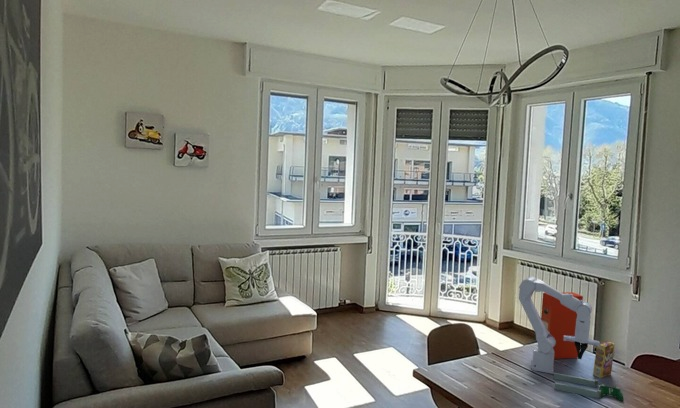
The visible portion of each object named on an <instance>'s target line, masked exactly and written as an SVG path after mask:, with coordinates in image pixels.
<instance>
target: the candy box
mask: <svg viewBox="0 0 680 408" xmlns="http://www.w3.org/2000/svg"><path fill="white" fill-rule="evenodd" d="M615 346H616V344H615V343H614V342H611V341H607V340H606V341H603V342H600V344H599V347H598V346H596V349H595V350H596V351H595V356H594V357H595V358H594V362H593V363H594V364H593V370H592V371H593V372H592V375H593V376H595V377H596V378H599V379H603V378H605V377H608V376H610V375H612V368H613V363H614V355H615V354H614V353H615Z"/></svg>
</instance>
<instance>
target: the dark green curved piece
mask: <svg viewBox="0 0 680 408" xmlns="http://www.w3.org/2000/svg"><path fill="white" fill-rule="evenodd" d="M598 390H601V397H600V398H603V397H604V396H610V397H614V398H615V397H616V398H617V399H618V401H620V402H624V395H623V393H622V391H621V388H620V387H619V386H616V387H612V386H608V385H607V386H606V385H605V384H604V383H602V384H600V385H599V387H598Z"/></svg>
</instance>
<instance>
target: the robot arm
mask: <svg viewBox="0 0 680 408" xmlns="http://www.w3.org/2000/svg"><path fill="white" fill-rule="evenodd" d="M518 288H519V290H518V291H519V292H518V300H519V302H520V304H521V306H522V308H523V310H524V312H525V314H526V316H527V318H528V320H529V322H530V325H531V327H532V329H533V331H534V333H535V340H536V342H537V348H533V350H532V351H533V352H532V353H533V354H532V360H531V370H533V371H537V372H540V373H541V372H543V373H545V374H546V373H547V374H551V375H554V372H555V371H554V369H555V368H554V361H555V359H554V349H553V347H554V346H555V345H556V340H555V338H554V337H553V336H551V334H550V333H549V331H548V330H546V328H545V326H544V324H543V322H542V320H541V315H540V313H539V312H538V310H537V308H536V305H535V304H534V302H533V300H532V296H533V294H534V292H535V293H538V292H540V293H547V294H549V295H551V296H553V297H555V298H557V299H559V300H560V302H561V304H562V305H564V306H566V307H567V308H569V309H571V310H573V311H575V312H576V313H577V318H576V327H575V336H565V335H564V341H571V342H574V343H575V347H576V349H577V353H578V358H577V359H578V360H582V358H583V356H584V353H585V352H586V351H587V349H588V348H589V345H590V346H596V347H597V346H598V347H599V344H600V343H601V342H600V340H595V339H592V338H590V330H591V329H590V327H591V313H592V312H593V306H592V305H591V304H590V303H589V302H588V301H584V300H583V301H582V300H581V301H580V300H579V299H577V298H575V297H573V295H572V294H568V293H566V294H562V293H563V292H561V291H559V289H556V288H554V287H553V286H551V285H549V284H547V283H546V282H545V281H543V280H542V279H540V278H537V277H535V276H533V275H532V276H531V275H530V276H528V277H526V278H525V279H523V280H522V281H521V282H520V284H519V287H518Z"/></svg>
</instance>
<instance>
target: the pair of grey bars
mask: <svg viewBox="0 0 680 408" xmlns="http://www.w3.org/2000/svg"><path fill="white" fill-rule="evenodd" d="M553 379H554V380H557V381H564V382H568V383H574V384H578V385H584V386H589V387H594V388H599V387H598V386H599V379H590V378H584V377H581V376H580V377H579V376H575V375H569V374H564V373H559V372H555V371H554V374H553ZM554 390H558V391H563V392H568V393H572V394H577V395H582V396H587V397H592V398H598V399H601V398H602V397H601V390H599V389H597V390H595V389H589V388H586V387H580V386H574V385H569V384H565V383H560V382H556V381H555V382H554Z"/></svg>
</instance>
